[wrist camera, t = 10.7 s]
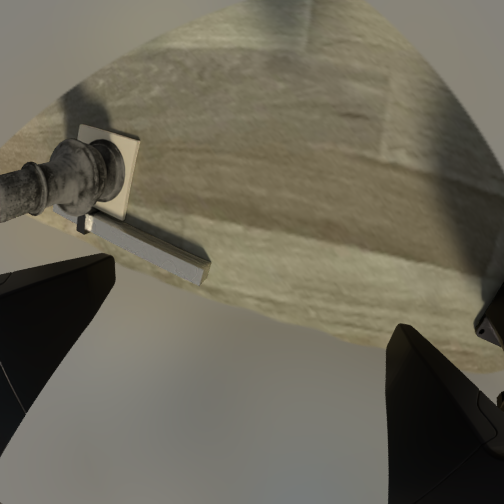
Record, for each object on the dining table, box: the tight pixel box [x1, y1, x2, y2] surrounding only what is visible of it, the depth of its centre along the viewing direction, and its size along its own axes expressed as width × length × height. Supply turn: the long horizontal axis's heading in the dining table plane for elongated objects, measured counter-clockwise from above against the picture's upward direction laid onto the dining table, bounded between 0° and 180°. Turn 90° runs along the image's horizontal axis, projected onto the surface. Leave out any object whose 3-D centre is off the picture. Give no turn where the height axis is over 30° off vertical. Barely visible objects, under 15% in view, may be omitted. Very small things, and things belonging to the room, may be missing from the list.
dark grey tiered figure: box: [0, 139, 125, 223], centre depth 18 cm, size 6×6×12 cm
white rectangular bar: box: [53, 204, 211, 286], centre depth 24 cm, size 16×2×2 cm, turn 72°
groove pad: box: [77, 124, 140, 220], centre depth 24 cm, size 7×7×1 cm
